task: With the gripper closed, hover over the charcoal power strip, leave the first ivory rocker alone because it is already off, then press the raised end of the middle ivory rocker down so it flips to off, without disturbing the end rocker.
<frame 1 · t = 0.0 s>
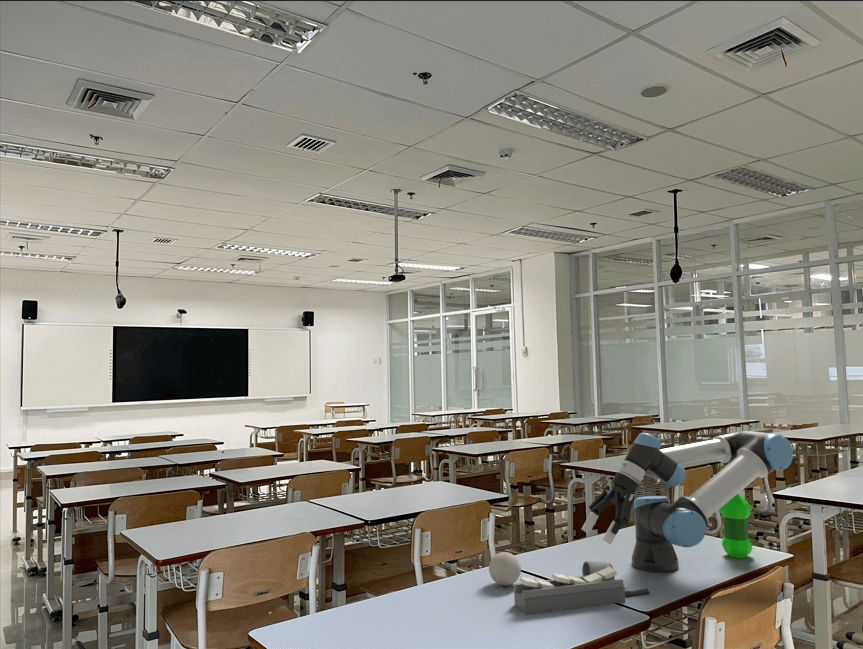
hand: (595, 536, 196), 15 cm above the table, tool tilted 35°, fingers open, 13 cm apart
ceramic mug: (596, 585, 198), on the table
end rocker: (536, 583, 181), point 7 cm above the table, hinge at -15.0°
power strip: (569, 603, 183), on the table
plastic bottle: (737, 556, 223), on the table
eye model: (505, 585, 200), on the table
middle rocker: (568, 579, 183), point 7 cm above the table, hinge at -15.0°
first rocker: (600, 576, 185), point 7 cm above the table, hinge at 15.0°
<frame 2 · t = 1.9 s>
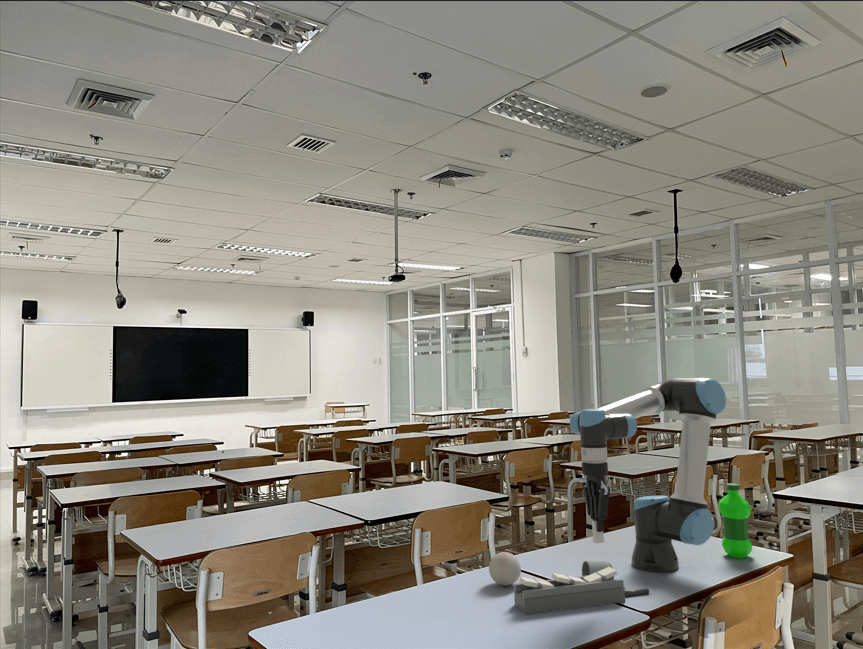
hand: (598, 542, 186), 16 cm above the table, tool pointing down, fingers closed
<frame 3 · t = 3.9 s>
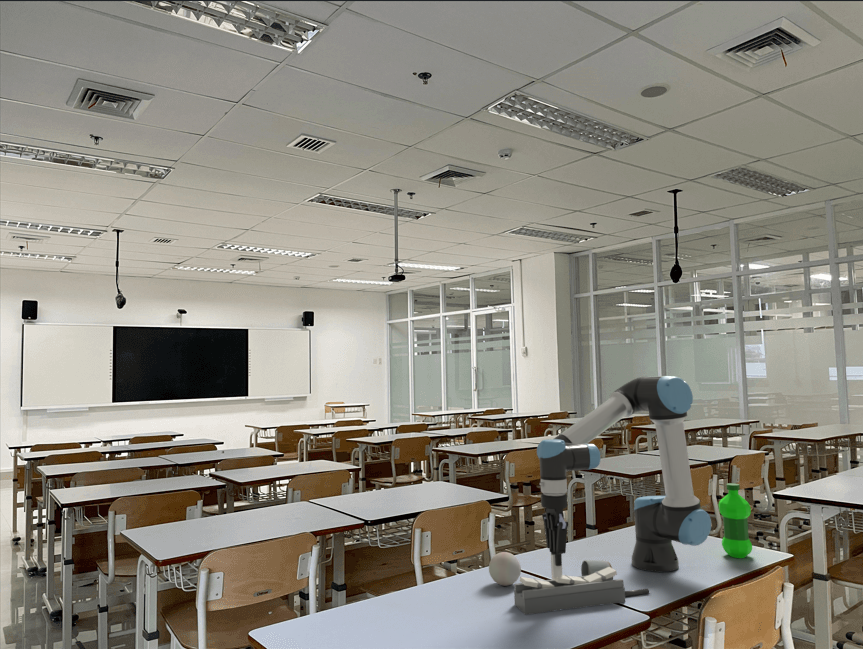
hand: (557, 576, 182), 8 cm above the table, tool pointing down, fingers closed
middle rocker: (568, 579, 183), point 7 cm above the table, hinge at -11.6°, touching gripper
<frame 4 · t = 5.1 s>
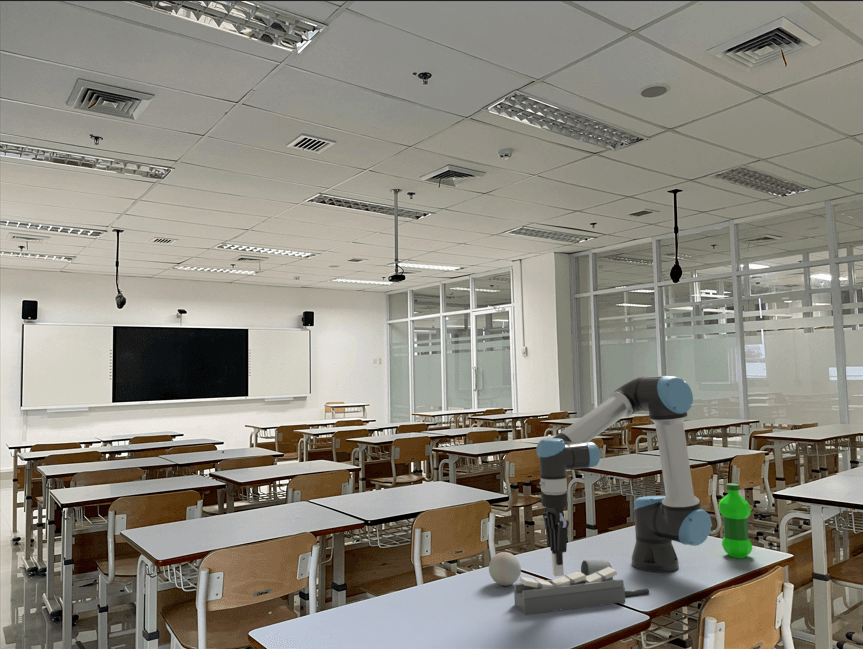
hand: (558, 575, 182), 8 cm above the table, tool pointing down, fingers closed
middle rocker: (568, 579, 183), point 7 cm above the table, hinge at 11.4°
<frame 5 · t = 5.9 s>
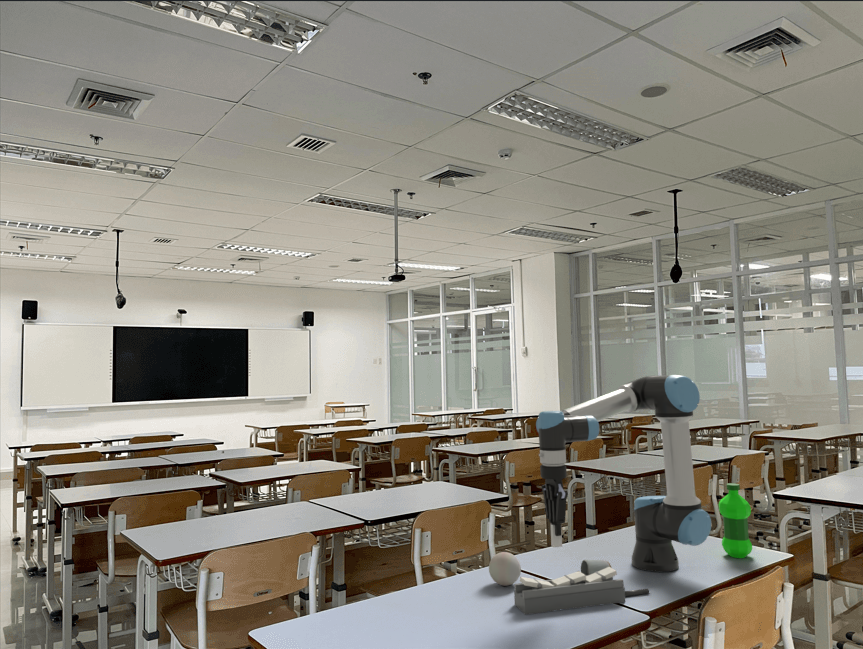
hand: (556, 546, 183), 16 cm above the table, tool pointing down, fingers closed
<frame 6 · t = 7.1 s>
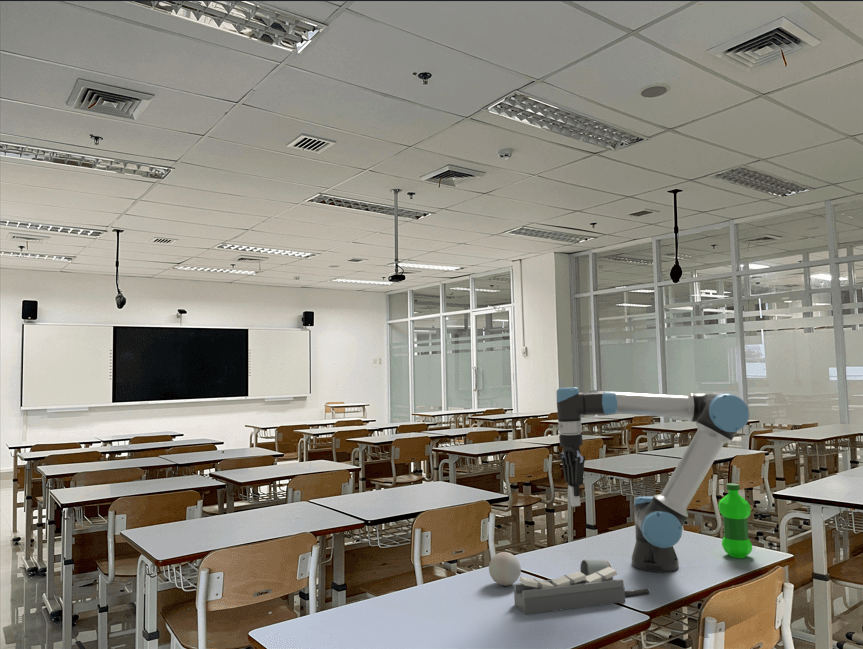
hand: (575, 505, 208), 23 cm above the table, tool pointing down, fingers closed
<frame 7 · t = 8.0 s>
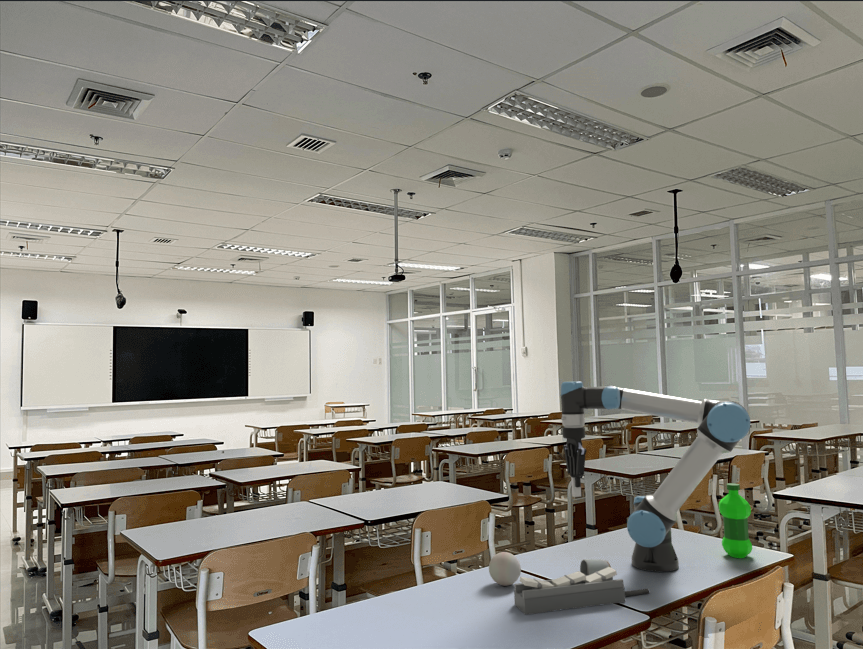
hand: (576, 496, 215), 24 cm above the table, tool pointing down, fingers closed
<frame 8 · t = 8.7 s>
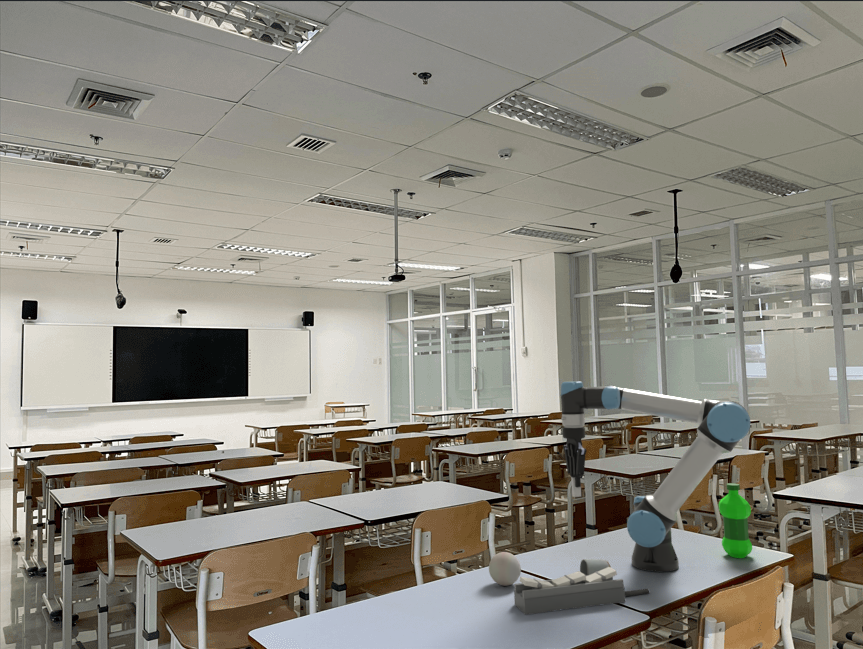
hand: (576, 496, 215), 24 cm above the table, tool pointing down, fingers closed
at the end: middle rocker at +11° (first picture: -15°); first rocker at +15° (first picture: +15°); end rocker at -15° (first picture: -15°) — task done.
